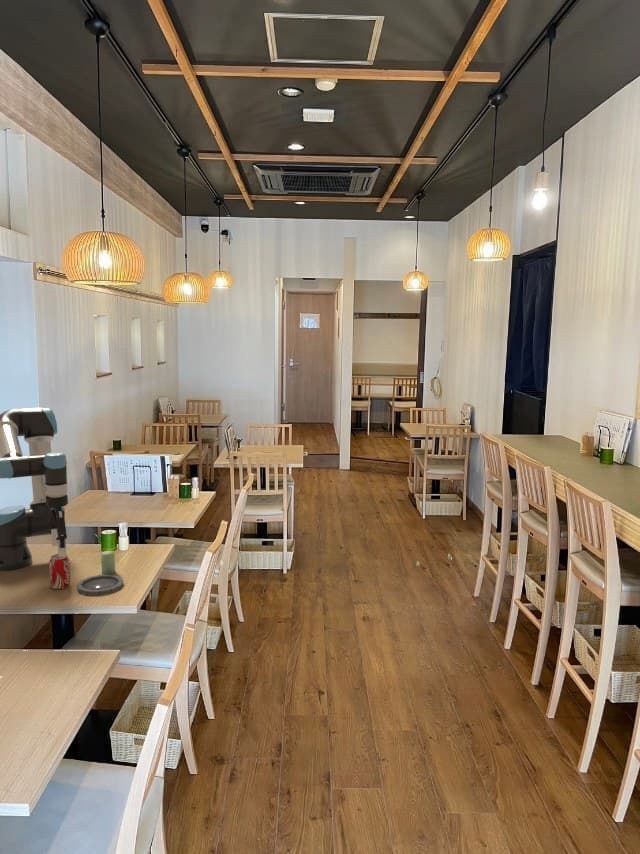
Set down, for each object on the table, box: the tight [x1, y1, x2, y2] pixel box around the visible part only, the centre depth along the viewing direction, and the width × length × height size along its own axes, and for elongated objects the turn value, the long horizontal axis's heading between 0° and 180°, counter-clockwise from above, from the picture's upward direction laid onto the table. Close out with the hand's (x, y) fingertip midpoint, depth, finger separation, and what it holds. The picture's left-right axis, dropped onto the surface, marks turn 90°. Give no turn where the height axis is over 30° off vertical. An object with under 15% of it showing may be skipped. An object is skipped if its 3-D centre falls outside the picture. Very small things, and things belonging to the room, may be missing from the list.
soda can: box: [48, 553, 71, 590], centre depth 228 cm, size 7×7×12 cm
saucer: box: [76, 574, 124, 596], centre depth 230 cm, size 16×16×1 cm
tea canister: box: [100, 550, 116, 575], centre depth 244 cm, size 5×5×8 cm
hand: (59, 550), depth 227 cm, fingers open, 13 cm apart
